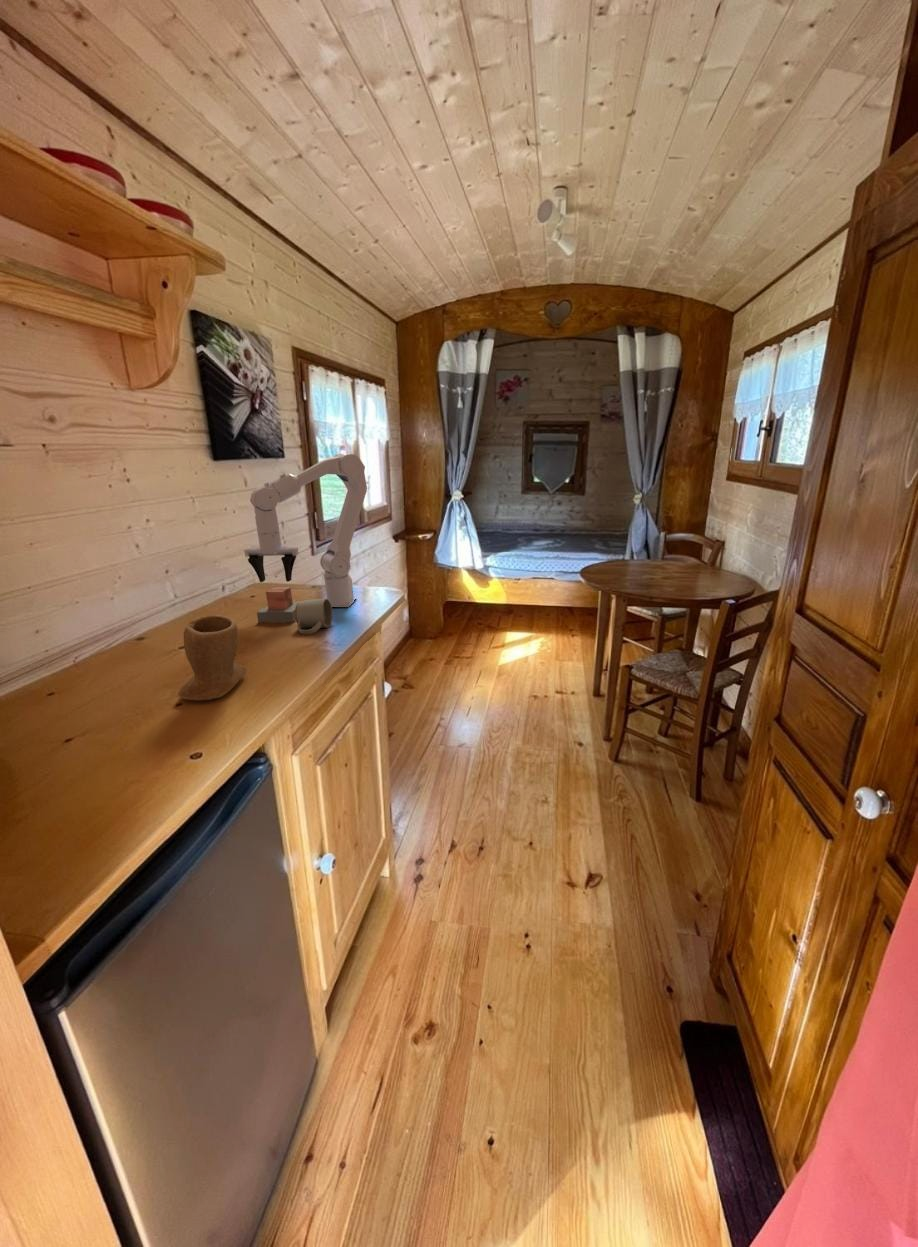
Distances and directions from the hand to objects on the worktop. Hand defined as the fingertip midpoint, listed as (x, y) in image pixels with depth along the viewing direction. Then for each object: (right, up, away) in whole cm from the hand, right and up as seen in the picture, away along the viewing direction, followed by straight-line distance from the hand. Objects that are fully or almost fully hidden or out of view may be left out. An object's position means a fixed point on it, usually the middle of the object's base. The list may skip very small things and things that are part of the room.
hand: (275, 581), depth 153 cm
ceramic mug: (+13, -13, -9) cm, 21 cm away
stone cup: (+3, -25, -43) cm, 50 cm away
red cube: (+1, -7, +1) cm, 7 cm away
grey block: (+2, -11, +2) cm, 11 cm away
